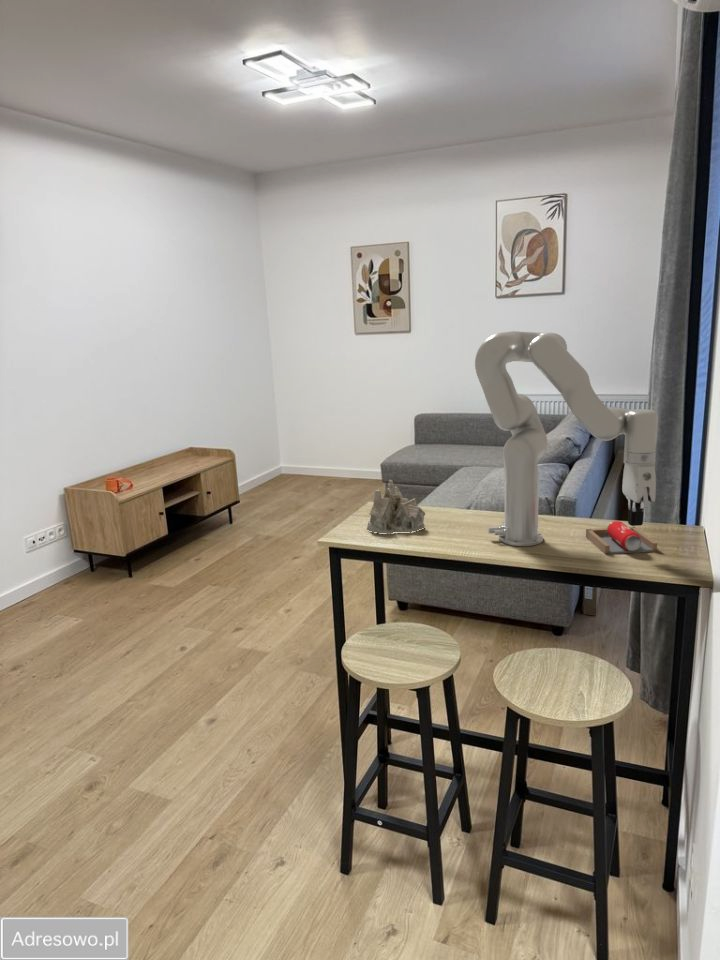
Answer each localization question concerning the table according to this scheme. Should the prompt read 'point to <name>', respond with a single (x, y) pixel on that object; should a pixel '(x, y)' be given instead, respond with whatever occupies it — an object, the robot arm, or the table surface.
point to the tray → (612, 547)
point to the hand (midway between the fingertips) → (635, 524)
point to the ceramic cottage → (394, 512)
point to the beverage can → (624, 536)
